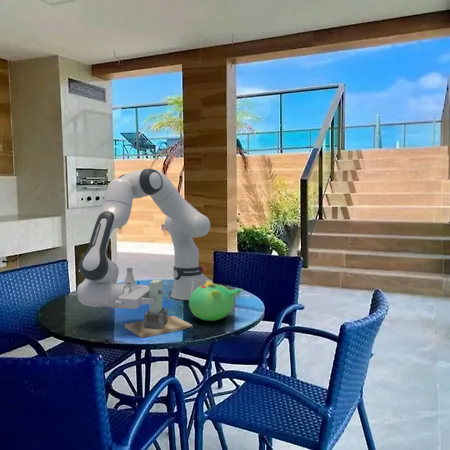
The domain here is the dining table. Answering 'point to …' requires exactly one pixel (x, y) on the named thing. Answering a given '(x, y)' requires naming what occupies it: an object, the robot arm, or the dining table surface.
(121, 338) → the dining table surface
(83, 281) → the robot arm
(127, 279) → the flask
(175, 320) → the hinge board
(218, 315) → the toy bird
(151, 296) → the tall grey rectangular block
